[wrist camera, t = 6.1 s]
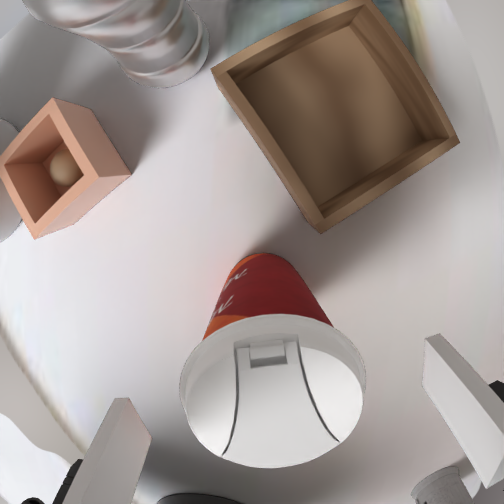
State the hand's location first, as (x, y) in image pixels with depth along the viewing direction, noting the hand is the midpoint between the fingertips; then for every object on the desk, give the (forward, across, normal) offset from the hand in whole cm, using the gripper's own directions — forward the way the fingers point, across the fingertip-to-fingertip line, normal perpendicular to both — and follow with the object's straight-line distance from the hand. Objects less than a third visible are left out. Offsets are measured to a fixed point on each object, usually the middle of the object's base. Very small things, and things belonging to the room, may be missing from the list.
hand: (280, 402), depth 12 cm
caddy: (+14, +8, +12) cm, 20 cm away
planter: (+14, -13, +13) cm, 23 cm away
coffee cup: (+14, 0, 0) cm, 14 cm away
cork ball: (+14, -13, +13) cm, 23 cm away
